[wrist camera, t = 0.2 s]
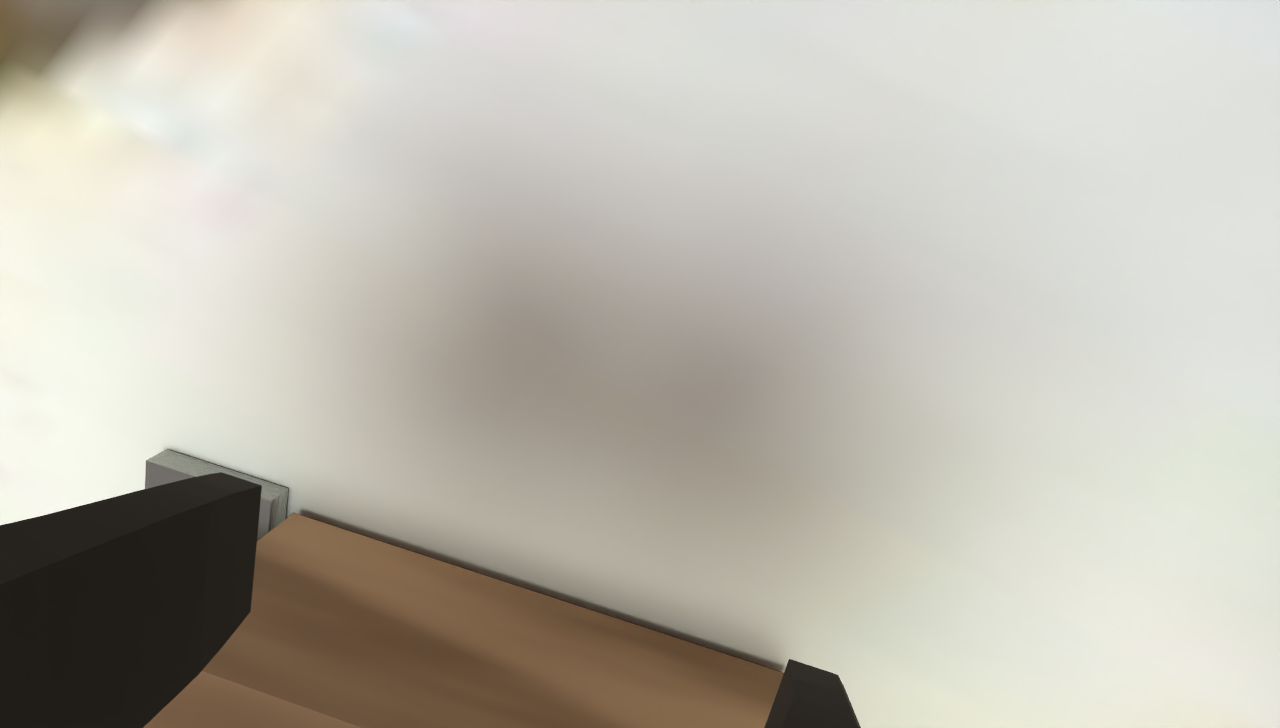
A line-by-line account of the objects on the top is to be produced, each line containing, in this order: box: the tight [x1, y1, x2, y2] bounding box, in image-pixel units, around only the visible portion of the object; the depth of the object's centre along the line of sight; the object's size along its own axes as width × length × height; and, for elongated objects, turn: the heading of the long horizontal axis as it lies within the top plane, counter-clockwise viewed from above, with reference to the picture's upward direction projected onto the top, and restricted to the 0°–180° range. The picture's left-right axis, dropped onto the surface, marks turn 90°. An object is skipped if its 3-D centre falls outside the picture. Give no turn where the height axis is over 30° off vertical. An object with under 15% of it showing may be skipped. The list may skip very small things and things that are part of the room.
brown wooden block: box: [143, 513, 784, 728], centre depth 20 cm, size 3×18×6 cm, turn 77°
